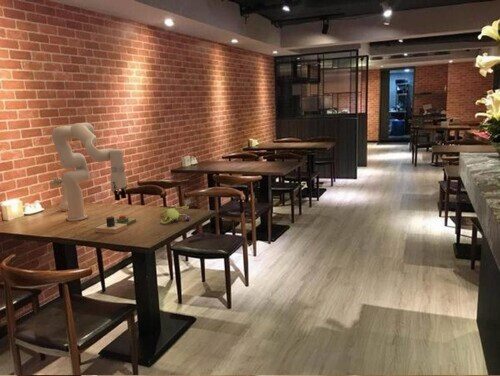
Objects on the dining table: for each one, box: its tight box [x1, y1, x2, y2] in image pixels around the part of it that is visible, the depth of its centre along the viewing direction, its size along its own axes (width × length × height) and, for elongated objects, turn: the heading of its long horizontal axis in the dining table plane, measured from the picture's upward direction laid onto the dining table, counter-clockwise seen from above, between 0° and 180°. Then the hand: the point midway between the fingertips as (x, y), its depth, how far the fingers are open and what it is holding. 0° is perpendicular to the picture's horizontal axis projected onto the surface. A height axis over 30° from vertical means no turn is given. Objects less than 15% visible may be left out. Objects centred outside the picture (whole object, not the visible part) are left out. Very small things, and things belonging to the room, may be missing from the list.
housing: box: [114, 216, 137, 227], centre depth 259 cm, size 12×10×4 cm
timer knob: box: [105, 215, 115, 227], centre depth 245 cm, size 4×4×5 cm
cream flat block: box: [94, 222, 128, 234], centre depth 246 cm, size 14×11×3 cm
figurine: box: [160, 205, 191, 225], centre depth 267 cm, size 18×27×6 cm
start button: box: [118, 214, 127, 219], centre depth 259 cm, size 4×4×2 cm
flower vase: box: [49, 175, 69, 212], centre depth 299 cm, size 13×18×25 cm
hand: (120, 198), depth 257 cm, fingers open, 5 cm apart
